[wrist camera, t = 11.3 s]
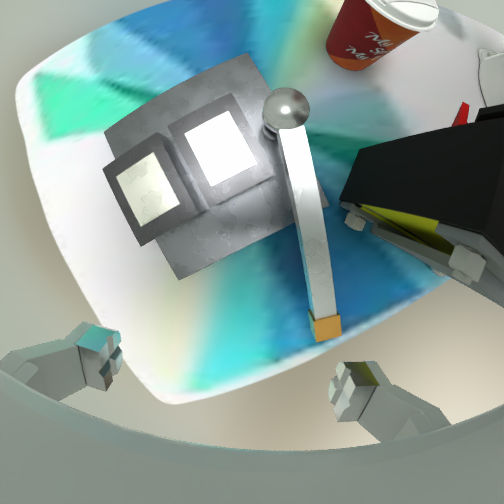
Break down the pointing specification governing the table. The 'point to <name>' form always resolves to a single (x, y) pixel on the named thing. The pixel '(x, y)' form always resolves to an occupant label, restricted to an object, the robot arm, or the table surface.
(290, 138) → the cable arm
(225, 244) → the tray
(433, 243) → the electrical component
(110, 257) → the table surface
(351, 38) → the paper cup
